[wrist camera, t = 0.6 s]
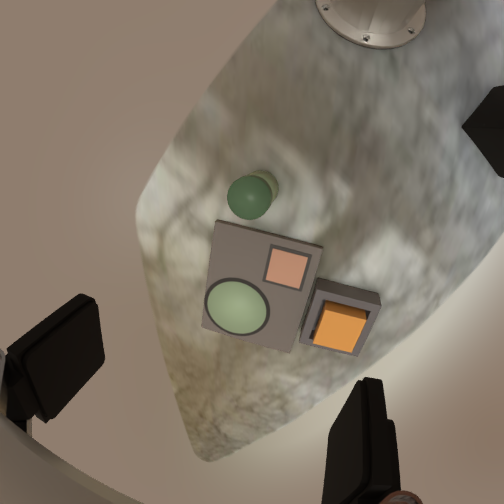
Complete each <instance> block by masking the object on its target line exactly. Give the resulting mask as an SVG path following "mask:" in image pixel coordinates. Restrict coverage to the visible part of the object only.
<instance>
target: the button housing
mask: <svg viewBox="0 0 504 504" xmlns="http://www.w3.org/2000/svg"><path fill="white" fill-rule="evenodd" d="M326 300H329V301H333V302H337V303H341V304H345V305H349V306H352V307H356V308H360V309H364V310H365V313H366V323H365V325H364V327H363V329H362V331H361V334H360V336H359V338H358V340H357V342H356V344H355V346H354V349H353V351H352V353H351V352H346V351H342V350H338V349H334V348H329V347H325V346H321V345H317V344H313V338H314V331H315V328H316V326H317V323H318V320H319V317H320V315H321V312H322V309H323V306H324V303H325V301H326ZM380 309H381V301H380V297H379V294H378V293H374V292H370V291H366V290H363V289H359V288H355V287H351V286H348V285H344V284H340V283H336V282H332V281H329V280H325V279H321V278H318V280H317V283H316V286H315V289H314V292H313V295H312V298H311V302H310V305H309V308H308V311H307V314H306V317H305V320H304V323H303V326H302V328H301V334H300V339H299V343H303V344H306V345H310V346H314V347H318V348H322V349H327V350H331V351H335V352H339V353H343V354H348V355H352V356H357V357H358V355H359V353H360V351H361V349H362V347H363V345H364V343H365V341H366V339H367V337H368V335H369V333H370V331H371V329H372V326H373V324H374V322H375V320H376V318H377V315H378V313H379V311H380Z"/></svg>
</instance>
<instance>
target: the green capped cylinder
mask: <svg viewBox="0 0 504 504" xmlns="http://www.w3.org/2000/svg"><path fill="white" fill-rule="evenodd" d="M277 194H278V183H277V180H276V179H275V177H274V176H273V175H272V174H270V173H269V172H266V171H255V172H253V173H251V174H249V175H246V176H243V177H241V178H239V179H238V180H236V181H235V182H234V183H233V184H232V185H231V186H230V188H229V190H228V194H227V200H228V205H229V207H230V209H231V210H232V212H233V213H234V214H235V215H237V216H238V217H240V218H242V219H247V220H253V219H257V218H259V217H261V216H262V215H263V214H264V213H265V212H266V211H267V210H268V208H269V207H270V205H271V203H272V202H273V201H274V199H275V198H276V196H277Z"/></svg>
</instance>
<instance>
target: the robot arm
mask: <svg viewBox="0 0 504 504" xmlns="http://www.w3.org/2000/svg"><path fill="white" fill-rule="evenodd" d="M315 1H316V5H317V8H318V11H319V12H320V14H321V16H322V18H323V19H324V20H325V22H326V23H327V24H328V25H329V26H330V27H331V28H332V29H333V30H334V31H335V32H336V33H338V34H339V35H341V36H342V37H344V38H345V39H347V40H349V41H351V42H354V43H356V44H359V45H362V46H365V47H369V48H376V49H390V48H396V47H400V46H402V45H405V44H407V43H409V42H410V41H412V40H413V39H414V38H415V37H416V36H417V35H418V34H419V33H420V31H421V30H422V28H423V26H424V23H425V19H426V9H425V3H424V2H425V1H426V0H315ZM324 9H328V11H325V10H324ZM408 31H410V32H411V33H412V34H410V33H409V32H408ZM364 38H365V39H367V40H368V41H367V42H366V41H364V40H363V39H364ZM7 352H8V354H7V355H6V356H5V354H4V352H3V351H2V350H1V349H0V504H143V503H141V502H139V501H137V500H134V499H132V498H130V497H128V496H126V495H124V494H122V493H120V492H118V491H116V490H114V489H112V488H110V487H108V486H107V485H104V484H103V483H101V482H99V481H97V480H96V479H94V478H92V477H90V476H89V475H87V474H85V473H84V472H82V471H80V470H79V469H76V468H75V467H74V466H72V465H70V464H69V463H67V462H66V461H64V460H63V459H61V458H60V457H58V456H57V455H55V454H54V453H52V452H51V451H50V450H48V449H47V448H45V447H44V446H43V445H41V444H39V443H38V442H37V441H36V440H34V439H33V438H32V417H33V416H34V415H36V417H37V418H39V419H40V420H42V421H43V422H44V423H47V422H48V421H49V420H50V419H53V418H55V417H56V416H57V415H58V414H59V412H60V411H61V410H62V409H63V408H64V407H65V406H66V405H67V403H68V402H69V401H70V400H71V399H72V398H73V397H74V396H75V395H76V394H77V392H78V391H79V390H80V389H81V388H82V387H83V386H84V385H85V384H86V382H87V381H88V380H89V379H90V378H91V377H92V376H93V375H94V374H95V373H96V371H98V369H99V368H100V367H101V366H102V365H103V363H104V360H105V354H104V348H103V341H102V334H101V327H100V319H99V310H98V305H97V304H96V302H95V299H94V298H92V297H89V296H87V295H85V294H78V295H77V296H75V297H74V298H73V299H71V300H70V301H68V302H67V303H66V304H64V305H63V306H61V307H60V308H59V309H57V310H56V311H55V312H53V313H52V314H51V315H49V316H48V317H47V318H45V319H44V320H43V321H41V322H40V323H39V324H37V325H36V326H35V327H34V328H32V329H31V330H30V331H29V332H27V333H26V334H24V335H23V336H22V337H21V338H19V339H18V340H17V341H15V342H14V343H13V344H12V345H11V346H9V347H8V348H7ZM321 504H423V503H422V501H421V499H420V498H419V497H418V496H417V495H415V494H413V493H412V492H409V491H401V487H400V472H399V460H398V449H397V441H396V432H395V425H394V422H393V421H392V420H389V419H387V412H386V404H385V396H384V390H383V383H382V380H380V379H375V378H368V377H365V378H364V379H363V380H362V381H361V380H358V381H357V382H356V384H355V386H354V388H353V390H352V392H351V393H350V395H349V397H348V399H347V401H346V403H345V404H344V406H343V408H342V410H341V411H340V413H339V415H338V417H337V418H336V420H335V422H334V423H333V425H332V427H331V429H330V432H329V436H328V447H327V458H326V470H325V478H324V487H323V495H322V503H321Z"/></svg>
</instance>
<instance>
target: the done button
mask: <svg viewBox="0 0 504 504" xmlns="http://www.w3.org/2000/svg"><path fill="white" fill-rule="evenodd" d="M365 323H366V313H365V310H364V309H360V308H356V307H352V306H349V305H345V304H341V303H337V302H333V301H329V300H326V301H325V303H324V306H323V309H322V312H321V315H320V317H319V320H318V323H317V326H316V328H315V331H314V338H313V344H317V345H321V346H325V347H329V348H334V349H338V350H342V351H346V352H351V353H352V351H353V349H354V346H355V344H356V342H357V340H358V338H359V336H360V334H361V331H362V329H363V327H364V325H365Z"/></svg>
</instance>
